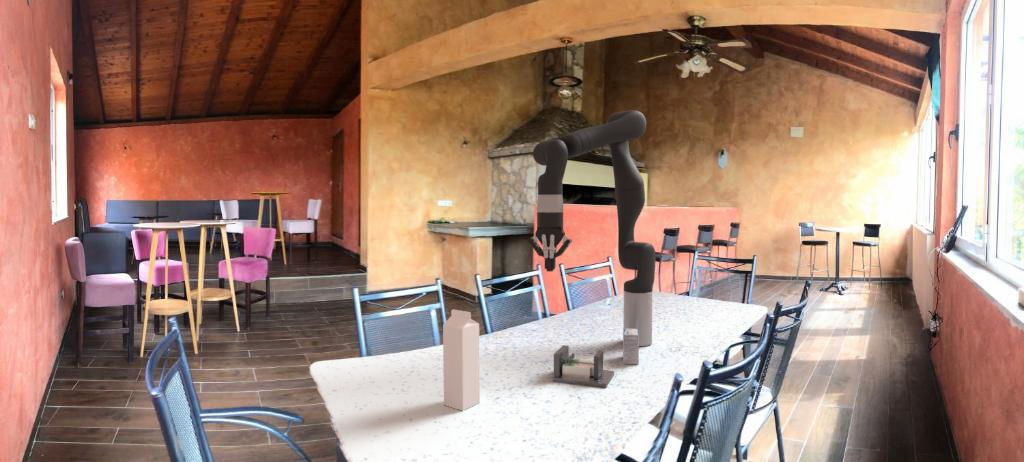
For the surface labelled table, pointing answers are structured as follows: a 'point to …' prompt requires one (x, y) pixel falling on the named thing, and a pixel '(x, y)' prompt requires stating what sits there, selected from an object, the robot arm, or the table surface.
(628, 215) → the robot arm
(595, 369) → the plunger
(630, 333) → the medicine box
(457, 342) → the milk
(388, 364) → the table surface
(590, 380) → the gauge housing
